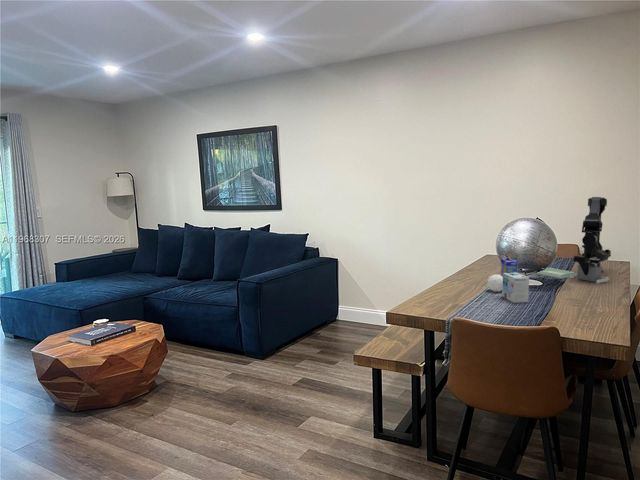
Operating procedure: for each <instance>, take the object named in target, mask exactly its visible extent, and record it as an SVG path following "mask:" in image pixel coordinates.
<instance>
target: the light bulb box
mask: <svg viewBox="0 0 640 480" xmlns="http://www.w3.org/2000/svg"><path fill="white" fill-rule="evenodd" d="M529 286H530V277H529V276H528V275H527V276H526V275H524V274H521V273H520V272H518V273H517V272H514V273H503V286H502V291H501V297H503V298H504V299H506V300H508V301H510V302H511V303H514V304H515V303H516V304H517V303H518V304H520V303H528V302H529V291H530V290H529V289H530V287H529Z"/></svg>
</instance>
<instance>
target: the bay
mask: <svg viewBox="0 0 640 480" xmlns="http://www.w3.org/2000/svg"><path fill="white" fill-rule="evenodd" d="M573 278H577V273H575V274H574V275H570V277H569V279H573ZM609 281H610V277H606V276H602V275H601V279H600V280H597V282H595V283H596V284H601V283H606V282H609Z"/></svg>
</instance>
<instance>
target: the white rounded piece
mask: <svg viewBox="0 0 640 480" xmlns="http://www.w3.org/2000/svg"><path fill="white" fill-rule="evenodd" d="M502 286H503V277H502V276H501V274H493V275H491V276H489V278H488V279H487V287H488V289H489V290H491V291H492V292H494V293H500V292H502Z"/></svg>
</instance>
